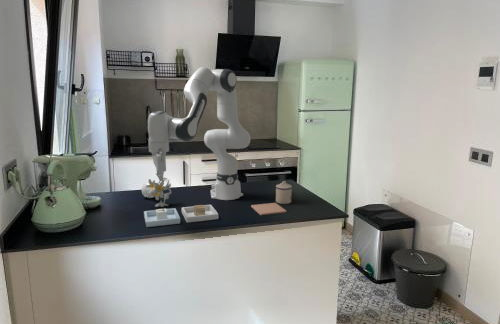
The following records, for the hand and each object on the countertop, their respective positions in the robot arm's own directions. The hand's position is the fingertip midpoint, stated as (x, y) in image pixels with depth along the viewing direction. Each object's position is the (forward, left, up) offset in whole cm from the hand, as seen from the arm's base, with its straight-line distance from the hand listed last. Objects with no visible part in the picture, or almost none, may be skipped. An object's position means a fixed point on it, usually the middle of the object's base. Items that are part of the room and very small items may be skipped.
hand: (160, 177), depth 169 cm
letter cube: (0, 0, -20) cm, 20 cm away
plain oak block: (0, +18, -20) cm, 27 cm away
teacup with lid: (-11, +67, -21) cm, 71 cm away
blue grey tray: (0, 0, -21) cm, 21 cm away
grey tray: (0, +18, -21) cm, 28 cm away
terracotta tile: (0, +54, -21) cm, 58 cm away
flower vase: (-31, 0, -21) cm, 37 cm away
